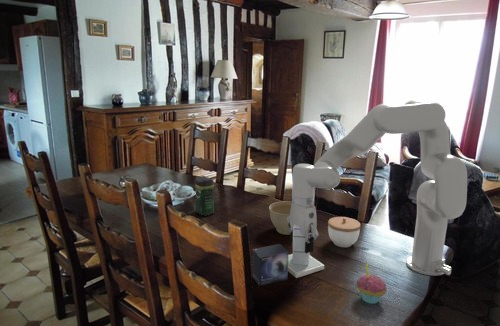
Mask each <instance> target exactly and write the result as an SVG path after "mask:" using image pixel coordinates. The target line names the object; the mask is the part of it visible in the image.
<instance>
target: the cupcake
mask: <svg viewBox="0 0 500 326" xmlns="http://www.w3.org/2000/svg"><path fill="white" fill-rule="evenodd" d="M365 270H366V271H365V272H366V274H365V275H362V276H360V277H359V278H358V279H357V280H356V287H357V289H358V291H359V292H360V296H361V300H363V301H364V302H365V303H368V304H373V305H374V304H377V303H378V302H379V300H380V298H381V297H383V296H384V295H386V293H387V284H386V283H385V281H384V280H383V279H381V278H380V277H378V276H376V275H372V274H370V271H369V263H367V261H365Z"/></svg>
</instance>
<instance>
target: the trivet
mask: <svg viewBox="0 0 500 326" xmlns="http://www.w3.org/2000/svg"><path fill="white" fill-rule="evenodd" d="M323 270H325V264H323V263H322V262H321V261H319V260H318V259H316V258H315V257H313V256H312V255H311V254H309V265H308V266H307V265H296V264H293V253H291V254H288V273H289V274H291V275H292V276H293V277H295V278H296V279H298V278H301V277H304V276H307V275H311V274H313V273H316V272H319V271H320V272H321V271H323Z"/></svg>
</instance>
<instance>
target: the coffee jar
mask: <svg viewBox="0 0 500 326" xmlns="http://www.w3.org/2000/svg"><path fill="white" fill-rule="evenodd" d="M194 186H195V187H194V189H195V213H197V214H198V213H199V214H198V215H200V214H201V215H200V216H202V215H204V216H207V215H208V214H211V215H212V213H213V214H214V213H215V206H214V205H215V202H214V186H215V184H214V180H213V178H210V177H207V176H206V175H200V176H196V178H195V179H194ZM208 216H209V215H208Z"/></svg>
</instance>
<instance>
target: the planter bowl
mask: <svg viewBox="0 0 500 326" xmlns="http://www.w3.org/2000/svg"><path fill="white" fill-rule="evenodd" d="M291 204H292V201H285V200H284V201H277V202H273V203H271V204H270V205H269V207H268V209H269V210H268V211H269V216H270V217H269V218H270V220H271V222H272V225H273V226H274V227H275V229H276V231H277V233H279V234H281V235H287V236H288V235H289V236H290V231H289V229H290V228H289V225H288V221H287V218H288V217H290V210H291Z"/></svg>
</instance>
